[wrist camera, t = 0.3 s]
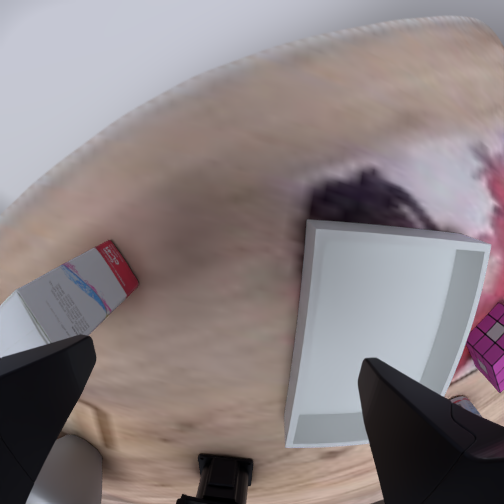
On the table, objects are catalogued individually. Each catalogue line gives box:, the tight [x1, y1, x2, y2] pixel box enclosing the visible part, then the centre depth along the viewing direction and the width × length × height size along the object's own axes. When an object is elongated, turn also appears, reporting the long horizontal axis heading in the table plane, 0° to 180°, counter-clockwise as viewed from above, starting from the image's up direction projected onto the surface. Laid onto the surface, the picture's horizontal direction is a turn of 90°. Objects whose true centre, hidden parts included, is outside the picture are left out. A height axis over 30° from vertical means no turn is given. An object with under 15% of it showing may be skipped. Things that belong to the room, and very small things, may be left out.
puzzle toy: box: [466, 302, 504, 393], centre depth 20 cm, size 6×6×6 cm
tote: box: [284, 219, 491, 448], centre depth 21 cm, size 19×14×4 cm
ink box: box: [0, 240, 139, 358], centre depth 18 cm, size 9×5×12 cm, turn 119°
